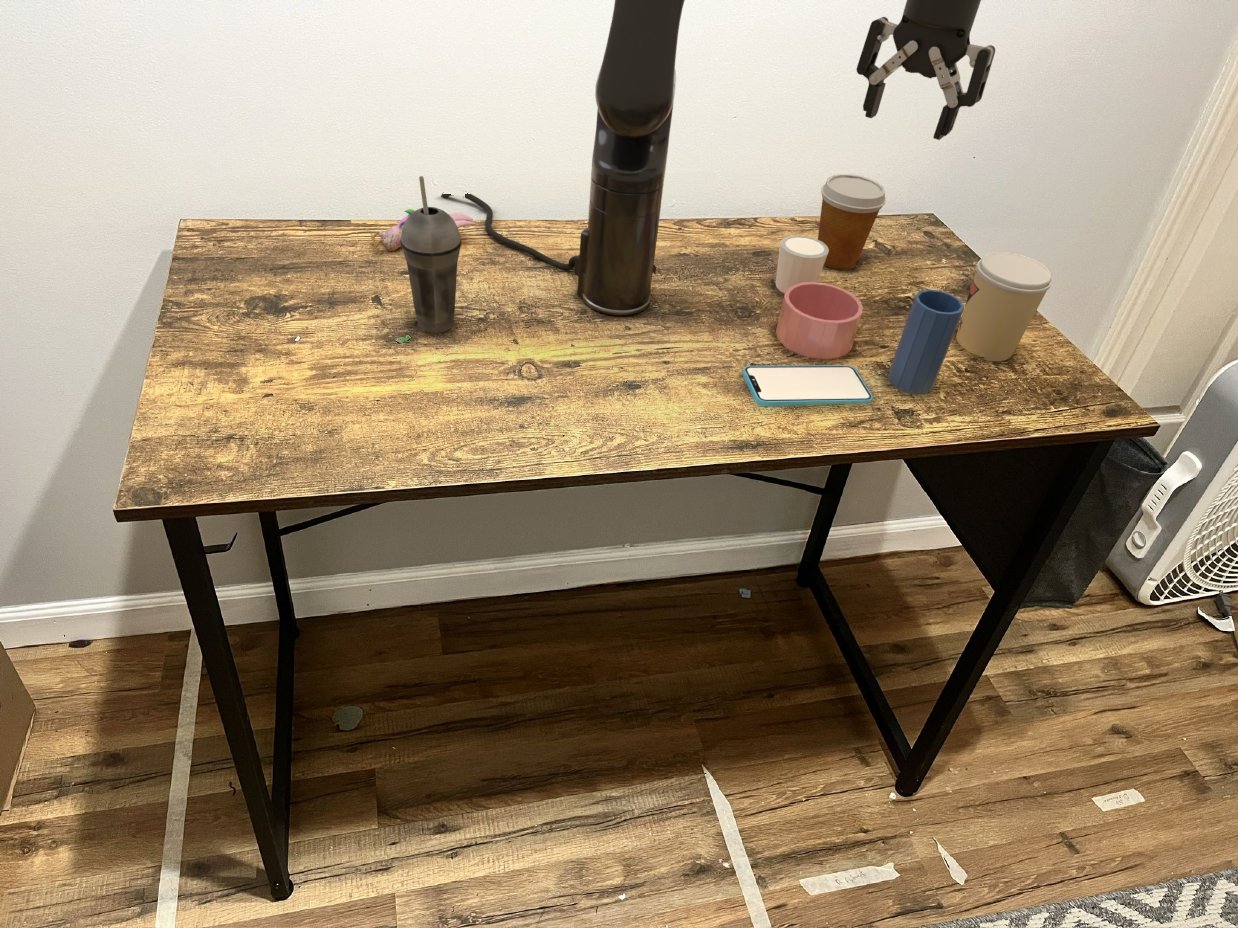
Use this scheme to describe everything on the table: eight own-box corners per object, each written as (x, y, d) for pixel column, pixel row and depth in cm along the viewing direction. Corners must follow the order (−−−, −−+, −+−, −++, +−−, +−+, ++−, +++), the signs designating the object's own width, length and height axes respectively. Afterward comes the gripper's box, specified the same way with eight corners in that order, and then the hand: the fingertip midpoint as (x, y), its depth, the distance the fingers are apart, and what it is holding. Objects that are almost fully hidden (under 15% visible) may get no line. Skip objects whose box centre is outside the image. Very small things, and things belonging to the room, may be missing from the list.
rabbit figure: (381, 267, 127) (481, 241, 130) (370, 229, 123) (474, 204, 126) (373, 247, 131) (470, 222, 134) (362, 210, 127) (463, 185, 130)
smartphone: (875, 400, 108) (759, 402, 105) (872, 408, 109) (756, 409, 106) (853, 365, 114) (741, 365, 111) (850, 372, 115) (740, 373, 112)
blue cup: (881, 385, 113) (909, 302, 105) (896, 366, 116) (924, 284, 109) (923, 402, 111) (955, 319, 103) (937, 382, 114) (969, 300, 106)
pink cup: (762, 342, 118) (771, 303, 114) (795, 312, 125) (804, 274, 121) (832, 371, 114) (844, 331, 110) (862, 338, 121) (874, 300, 117)
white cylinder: (816, 305, 127) (828, 260, 122) (769, 296, 127) (778, 252, 123) (818, 282, 132) (829, 239, 127) (772, 274, 133) (782, 231, 128)
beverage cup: (475, 319, 116) (471, 171, 103) (443, 345, 111) (436, 192, 98) (428, 303, 118) (419, 155, 105) (395, 328, 113) (381, 176, 100)
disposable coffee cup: (875, 259, 139) (897, 185, 131) (853, 282, 133) (875, 206, 125) (819, 240, 143) (837, 167, 135) (795, 261, 136) (813, 186, 129)
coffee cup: (969, 320, 127) (1000, 243, 119) (1030, 349, 122) (1066, 271, 115) (936, 342, 122) (966, 263, 114) (998, 373, 117) (1034, 293, 109)
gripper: (875, -37, 94) (836, 117, 105) (1007, -5, 89) (951, 153, 100) (901, -45, 99) (861, 103, 110) (1027, -15, 94) (972, 137, 104)
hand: (904, 127), depth 105 cm, fingers open, 8 cm apart
